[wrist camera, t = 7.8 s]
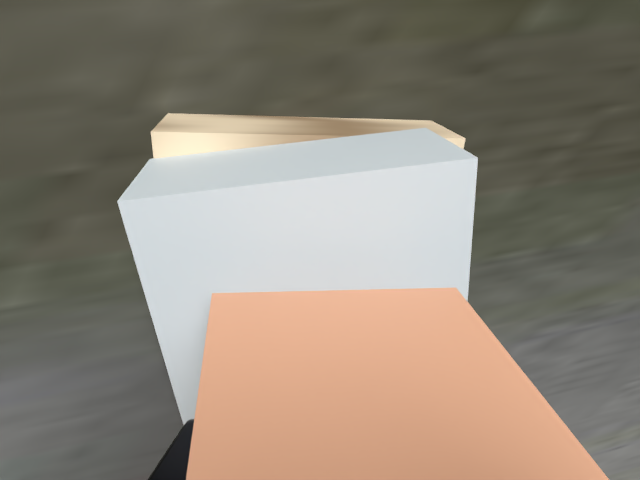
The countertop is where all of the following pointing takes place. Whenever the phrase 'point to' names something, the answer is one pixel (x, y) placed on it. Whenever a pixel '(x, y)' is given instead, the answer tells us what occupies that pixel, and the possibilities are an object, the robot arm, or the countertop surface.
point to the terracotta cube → (369, 393)
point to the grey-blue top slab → (295, 228)
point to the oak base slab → (268, 131)
